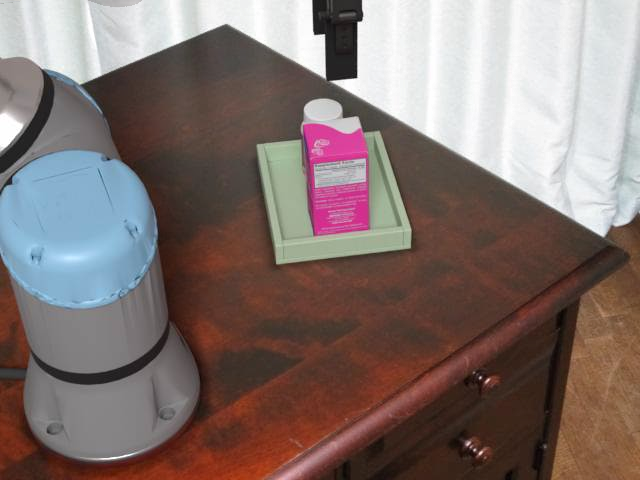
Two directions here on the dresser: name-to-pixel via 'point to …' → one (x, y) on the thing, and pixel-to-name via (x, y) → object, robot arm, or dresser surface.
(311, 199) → the supplement box
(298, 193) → the tray
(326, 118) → the pill bottle
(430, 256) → the dresser surface
